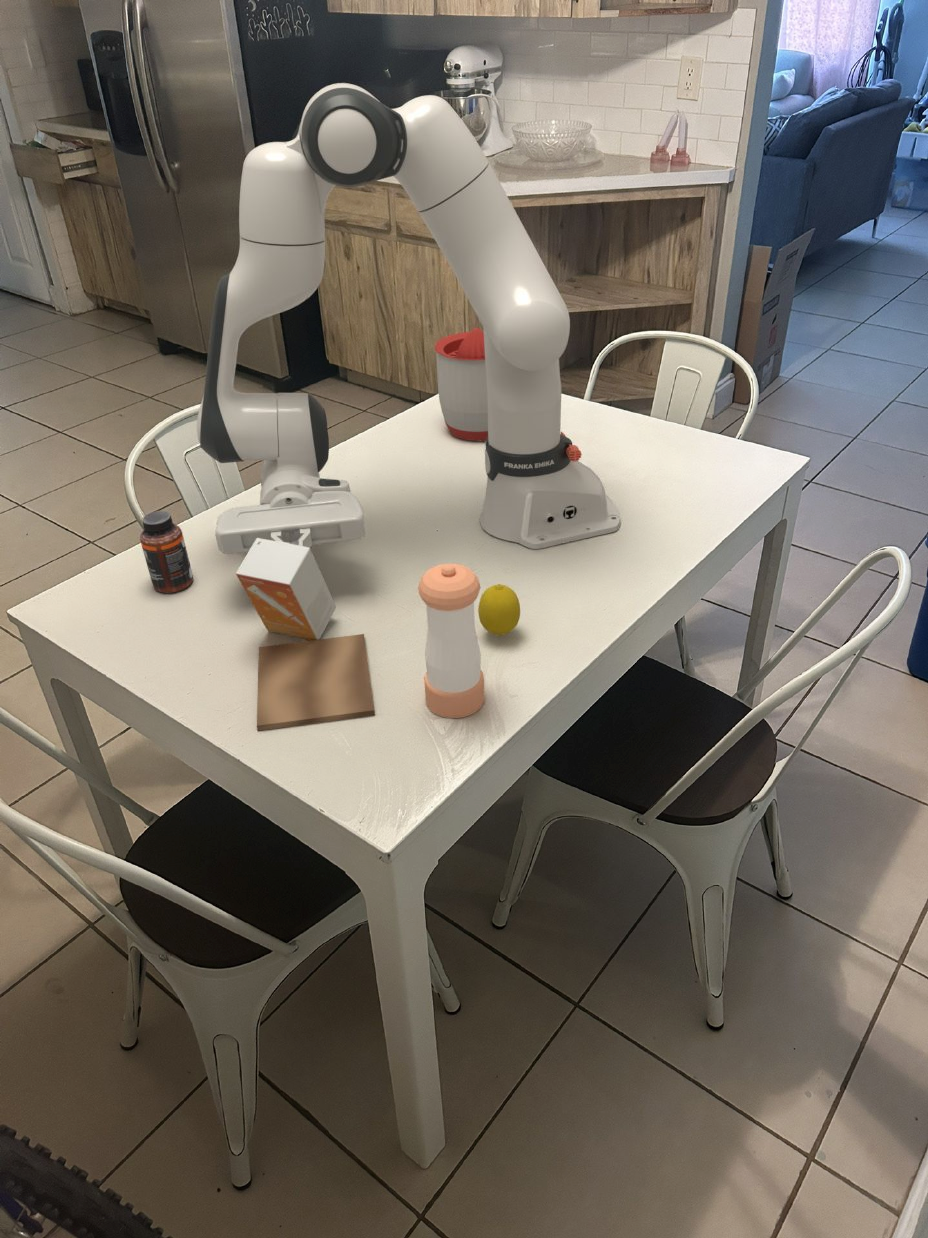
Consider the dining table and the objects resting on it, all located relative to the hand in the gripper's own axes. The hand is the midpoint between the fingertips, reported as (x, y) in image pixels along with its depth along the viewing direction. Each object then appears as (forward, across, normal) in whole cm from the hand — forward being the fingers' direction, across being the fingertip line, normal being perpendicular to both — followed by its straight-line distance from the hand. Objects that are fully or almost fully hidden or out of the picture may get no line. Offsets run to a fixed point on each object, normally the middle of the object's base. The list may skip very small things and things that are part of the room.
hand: (291, 554), depth 122 cm
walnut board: (+14, +1, +11) cm, 18 cm away
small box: (+1, 0, +10) cm, 10 cm away
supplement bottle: (-14, -19, +11) cm, 26 cm away
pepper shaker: (+20, +18, +11) cm, 30 cm away
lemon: (+8, +26, +11) cm, 30 cm away
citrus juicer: (-58, +36, +11) cm, 70 cm away
